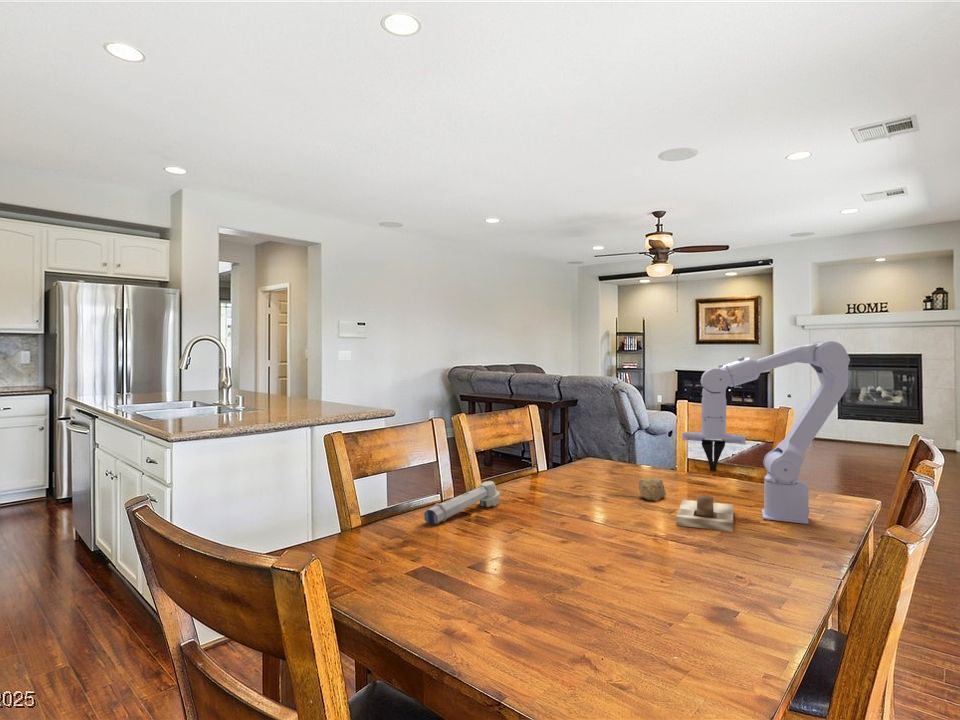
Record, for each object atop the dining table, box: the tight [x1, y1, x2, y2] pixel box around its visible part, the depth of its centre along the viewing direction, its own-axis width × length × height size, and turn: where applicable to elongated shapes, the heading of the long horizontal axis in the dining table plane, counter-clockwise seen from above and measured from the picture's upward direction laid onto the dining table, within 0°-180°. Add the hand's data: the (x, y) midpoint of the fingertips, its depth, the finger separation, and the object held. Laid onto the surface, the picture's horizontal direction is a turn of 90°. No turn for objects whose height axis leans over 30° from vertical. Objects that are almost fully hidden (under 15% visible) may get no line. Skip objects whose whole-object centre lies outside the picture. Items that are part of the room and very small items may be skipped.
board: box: [675, 499, 734, 533], centre depth 134 cm, size 12×16×2 cm
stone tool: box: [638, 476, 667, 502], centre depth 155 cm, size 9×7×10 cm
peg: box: [696, 494, 714, 518], centre depth 131 cm, size 4×4×6 cm
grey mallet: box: [423, 480, 501, 526], centre depth 140 cm, size 5×7×25 cm
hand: (713, 470), depth 140 cm, fingers closed
